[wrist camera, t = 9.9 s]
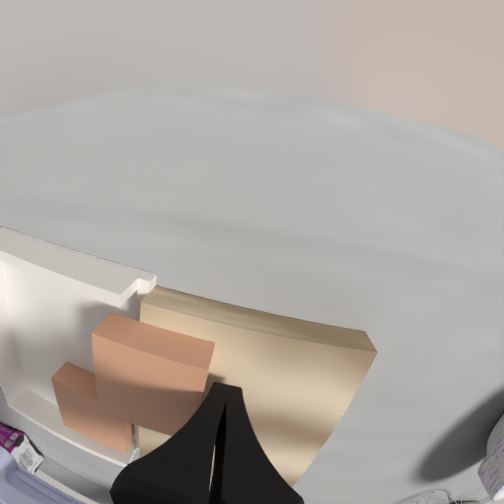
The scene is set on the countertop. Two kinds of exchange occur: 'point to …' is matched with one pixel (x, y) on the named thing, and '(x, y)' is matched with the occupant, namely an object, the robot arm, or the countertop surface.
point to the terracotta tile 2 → (149, 373)
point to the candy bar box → (20, 448)
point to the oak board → (270, 371)
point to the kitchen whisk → (472, 503)
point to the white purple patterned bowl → (494, 463)
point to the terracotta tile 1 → (88, 408)
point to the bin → (58, 325)
